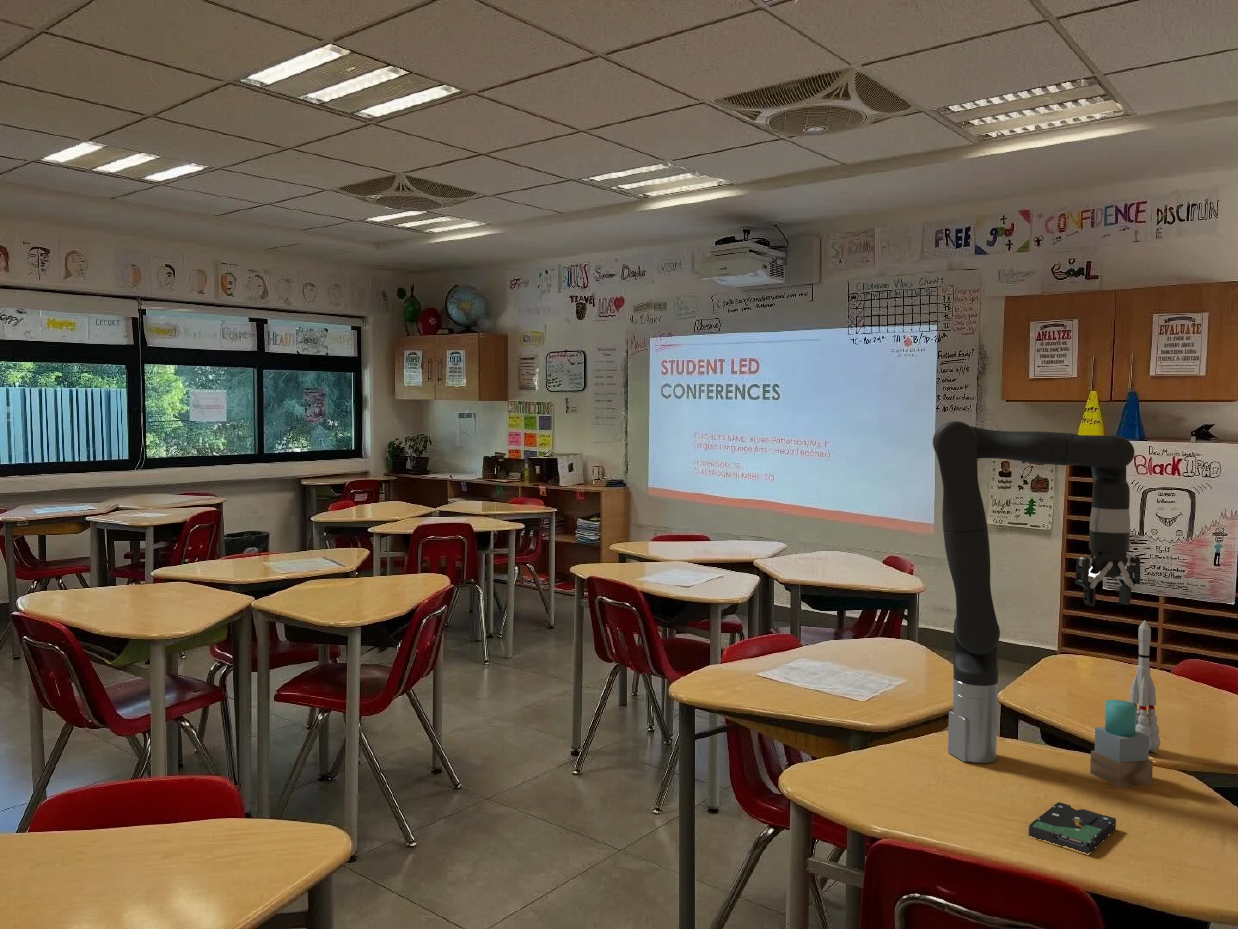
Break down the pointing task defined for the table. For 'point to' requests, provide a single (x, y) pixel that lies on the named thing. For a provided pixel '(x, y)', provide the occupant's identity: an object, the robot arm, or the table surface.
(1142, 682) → the rocket model
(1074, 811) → the disk drive
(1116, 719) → the teal upright cylinder
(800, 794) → the table surface
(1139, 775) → the base block
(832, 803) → the table surface
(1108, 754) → the middle block
